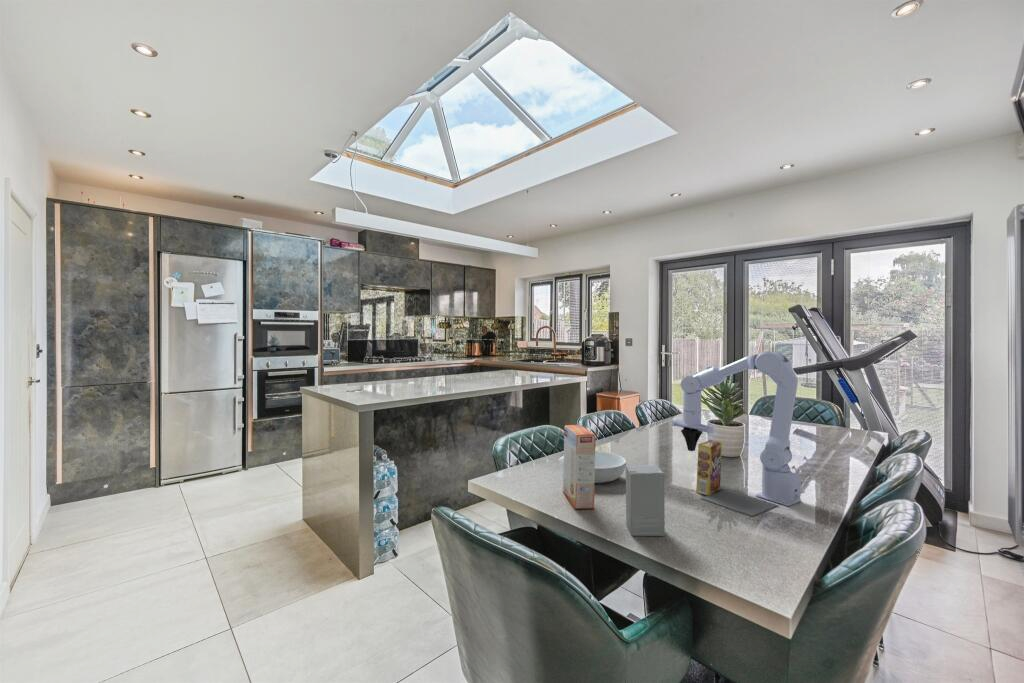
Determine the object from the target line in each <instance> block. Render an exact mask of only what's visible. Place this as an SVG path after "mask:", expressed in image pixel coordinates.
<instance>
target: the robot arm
mask: <svg viewBox="0 0 1024 683" xmlns="http://www.w3.org/2000/svg"><path fill="white" fill-rule="evenodd" d="M746 370H752V371H753V370H754V371H755V370H758V371H759V372H761V373H763V374H764V375H766V376H768V377H769V378H770V379H771V380H772V381H773V382H774V383H775V384H776V391H775V398H774V402H773V403H774V404H773V410H772V411H773V412H772V415H771V416H772V417H771V422H770V423H771V424H770V430H769V436H768V438H767V441H766V443H765V447H764V449H763V451H762V452H761V453H760V456H759V458H760V462H761V464H762V466H761V492H758V493H756V494H755V497H756V498H757V497H758V498H761V499H764V500H768V501H769V502H770V501H771V502H773V503H778V504H781V505H784V506H786V507H790V506H793V505H795V504H797V503H799V502H802V499H801V485H802V483H801V482H802V481H801V476H800V475H799V474H798V473H796V472H793V471H791V467H790V466H789V463H790V462H791V461H792V458H793V454H792V453H793V452H792V451H791V441H790V435H791V434H790V432H791V429H792V428H791V427H792V422H793V421H792V420H793V415H794V408H795V403H796V397H797V390H798V383H799V379H798V376H797V375H796V373H795V371H794V369H793V367H792V365H791V361H790V359H789V358H787V357H786V356H785V355H784V354H783V353H781V352H780V351H775V350H774V351H773V350H772V351H763V352H759V353H756V354H751V355H747V356H745V357H743V358H740V359H739V360H736V361H734V362H731V363H729V364H727V365H724V366H722V367H718V366H712V365H710V366H709V365H708V366H706V369H704V370H701V371H700V372H698V371H695V372H693V375H686V376H685V377H684V378H683V379H681V382H680V387H681V390H682V391H683V396H682V398H683V399H682V400H683V402H682V403H683V404H682V420H678V419H674V420H672V421H671V426H672V427H677V428H678V427H679V428H682V429H681V431H680V432H681V434H682V436H683V438H684V440H685V443H686V446H687V447H686V448H687V451H689V452H694V451H696V447H697V444H698V441H699V439H700V437H702V436H701V435H702V434H703V433H707V434H713V433H714V427H713V426H709V425H706V424H703V423H702V391H703V390H705V389H706V390H707V389H708V388H710V387H713V386H716V385H719V384H721V383H724V381H725V379H726V377H728V376H731V375H734V374H737V373H740V372H743V371H746Z"/></svg>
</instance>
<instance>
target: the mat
mask: <svg viewBox="0 0 1024 683" xmlns="http://www.w3.org/2000/svg"><path fill="white" fill-rule="evenodd" d="M700 499H701V500H703V501H706V502H709V503H711V504H715V505H718V506H720V507H723V508H725V509H729V510H731V511H734V512H737V513H739V514H743V515H746V516H749V517H755V516H758V515H760V514H762V513H764V512H766V511H769V510H773V509H774V508H776V507H778V506H779V504H776V503H774V502H773V503H772V502H770V501H766V500H763V499H759V498H757V497H753V496H751V495H746V494H744V493H740V492H737V491H734V490H731V489H729V488H728V489H727V488H726V489H724V490H722V491H717V492H714V493H713V494H711V495H709V496H707V495H705V496H703V497H700Z"/></svg>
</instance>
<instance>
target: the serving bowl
mask: <svg viewBox="0 0 1024 683" xmlns="http://www.w3.org/2000/svg"><path fill="white" fill-rule="evenodd" d="M562 458H563V459H562V460H563V462H564V456H563V457H562ZM626 465H627V460H626V458H624V457H623V456H621V455H619V454H616V453H612V452H609V451H608V452H607V451H601V450H600V451H599V450H595V481H594V484H601V483H609V482H611V481H612V482H613V481H615V480H617V479H619V478H620V477H621V476H623V474H624V472H625V471H626Z"/></svg>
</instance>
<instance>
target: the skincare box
mask: <svg viewBox="0 0 1024 683" xmlns="http://www.w3.org/2000/svg"><path fill="white" fill-rule="evenodd" d="M665 475H666V474H665V472H664V471H663V469H661V468H660V466H659V465H658V464H639V465H638V464H626V467H625V520H626V522H625V524H626V527H627V530H628V531H629V533H630V536H632V537H647V536H648V537H665V532H666V529H665V520H666V519H665V516H666V515H665Z"/></svg>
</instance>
